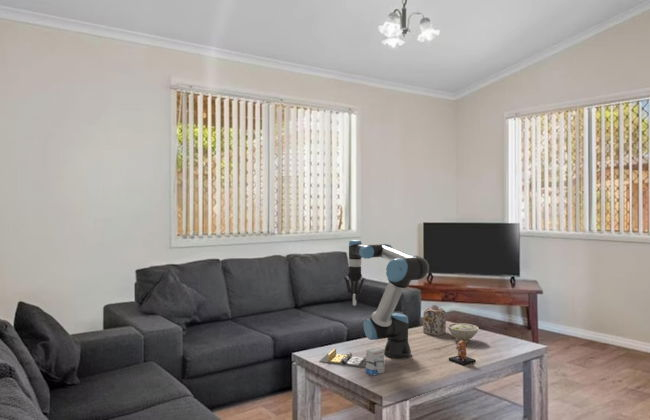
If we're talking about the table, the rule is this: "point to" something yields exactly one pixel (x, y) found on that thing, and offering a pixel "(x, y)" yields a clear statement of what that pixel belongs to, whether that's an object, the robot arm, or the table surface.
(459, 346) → the figurine
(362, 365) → the grey two-tone fixture
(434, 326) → the decorative jar
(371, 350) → the ink box
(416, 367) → the table surface
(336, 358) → the loose leaf
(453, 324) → the bowl
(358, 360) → the fixed leaf
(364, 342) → the table surface
